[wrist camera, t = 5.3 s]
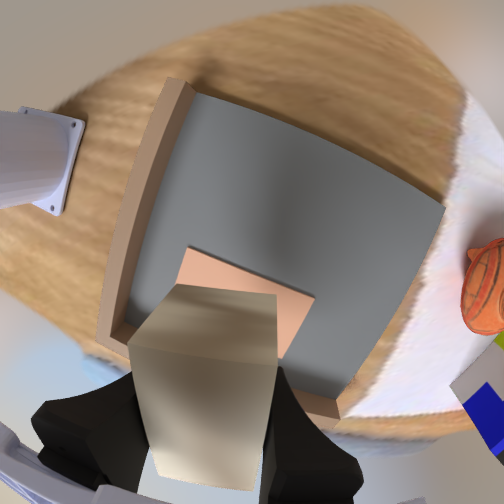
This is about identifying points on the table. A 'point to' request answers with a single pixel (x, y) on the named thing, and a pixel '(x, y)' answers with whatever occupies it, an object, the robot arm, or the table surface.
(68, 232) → the table surface
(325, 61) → the table surface
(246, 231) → the tray
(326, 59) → the table surface
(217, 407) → the birch block
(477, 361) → the puzzle toy
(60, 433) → the robot arm
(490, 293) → the pot
